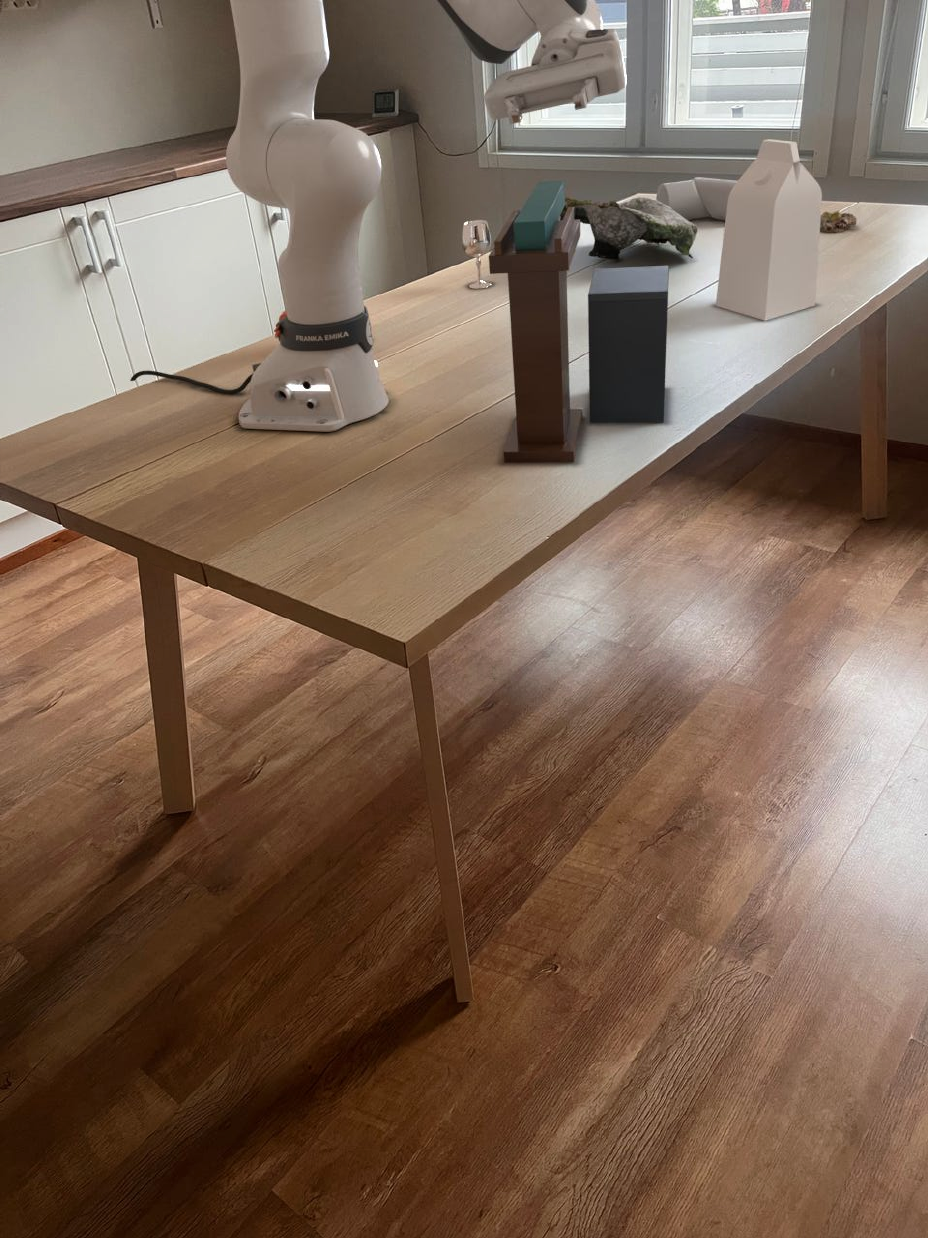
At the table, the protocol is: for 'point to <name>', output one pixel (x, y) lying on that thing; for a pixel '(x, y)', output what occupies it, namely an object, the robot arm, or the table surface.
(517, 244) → the teal block
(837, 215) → the mineral rock
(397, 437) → the table surface
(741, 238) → the milk
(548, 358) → the walnut stand
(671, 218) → the mossy grey boulder
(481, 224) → the wineglass
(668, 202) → the bent grey cylinder
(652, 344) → the slate crate
